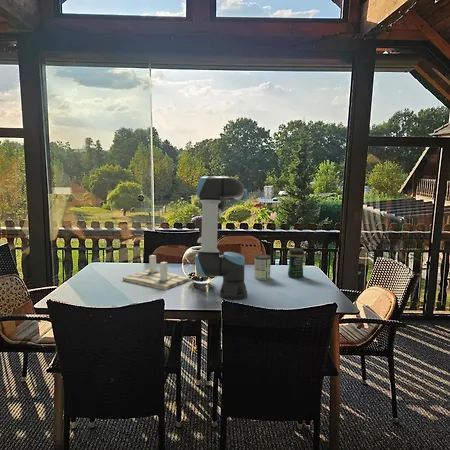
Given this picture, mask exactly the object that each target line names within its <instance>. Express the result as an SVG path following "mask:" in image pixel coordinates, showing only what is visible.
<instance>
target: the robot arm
mask: <svg viewBox="0 0 450 450" xmlns="http://www.w3.org/2000/svg"><path fill="white" fill-rule="evenodd" d="M244 187H245V186H244V184H243V183H242V181H240V180H238V179H237V178H234V177H230V176H211V175H210V176H201V177H200V178H199V180H198V182H197V187H196V197H197V198H198V199H199V202H200V203H201V206H202V209H201V210H202V211H201V217H200V222H199V223H200V224H199V228H198V231H199V235H198V239H197V241H196V242H197V243H198V244H200V243H201V245H200V246H201V247H200V249H198V252H197V253H196V254H195V256H194V258H195V259H194V266H195V271H196V273H197V275H198V276H200V277H201V276H202V277H222V283H221V287H220V288H219V297H220V298H222V299H227V300H243V299H245V298H247V297H248V289H247V285H246V282H245V269H246V268H245V266H246V262H245V256H244V255H243V254H241V253H237V252H234V251H224V252H223V254H221V253H220V252H221V251H220V250H219V249H218V229H219V228H218V227H219V226H218V224H219V223H218V221H219V219H220V216H221V215H222V213H223V211H224V209H225V208H226V206H227V204H228V201H239V202H240V201H241V202H243V201H247V200H248V189H247V188H244Z"/></svg>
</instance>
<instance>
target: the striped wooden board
mask: <svg viewBox="0 0 450 450" xmlns="http://www.w3.org/2000/svg"><path fill="white" fill-rule="evenodd" d="M156 271H158V272H157V273H154V274H151V273H148V272H149V269H146V270H143V271H139V272H136V273H132V274H130V275H127V276H122V281H123V280H126V281H125V282H127V281H130V282H129V283H132V282H134V283H133V284H136V283H138V284H137V285H141V284H142V285H141V286H145V285H146V286H145V287H149V288H156V289H159V290H164V291H167V290H169V289H172V288H174V287H177V286H180V285H182V284H186V283H189V282H190V280H189V279H188V277H189V276H188V277H186V275H182V274H177V273H171V272H167V276H168V279H169V280H168V281H166V282H161V281H159V280H160V270H157V269H156Z"/></svg>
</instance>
